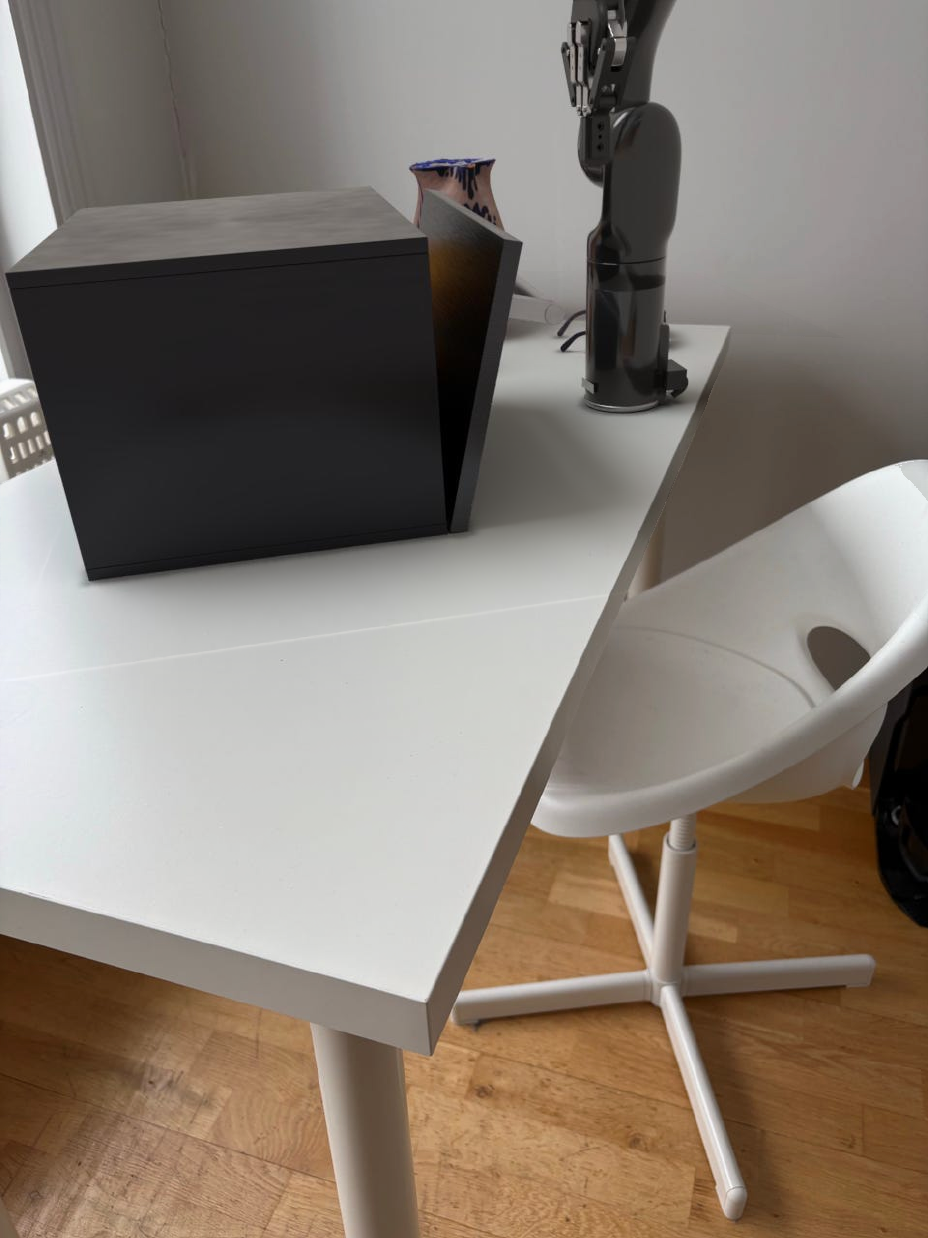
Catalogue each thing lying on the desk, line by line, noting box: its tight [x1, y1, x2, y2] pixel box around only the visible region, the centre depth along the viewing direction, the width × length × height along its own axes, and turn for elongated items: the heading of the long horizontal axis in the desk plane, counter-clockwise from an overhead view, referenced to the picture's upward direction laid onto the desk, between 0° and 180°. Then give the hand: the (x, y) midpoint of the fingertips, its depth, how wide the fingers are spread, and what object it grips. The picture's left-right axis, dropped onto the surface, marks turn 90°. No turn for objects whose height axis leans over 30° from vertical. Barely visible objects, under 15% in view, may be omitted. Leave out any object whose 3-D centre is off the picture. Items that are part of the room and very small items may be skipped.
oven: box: [4, 185, 448, 582], centre depth 99 cm, size 32×40×26 cm
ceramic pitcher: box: [408, 157, 506, 232], centre depth 152 cm, size 18×21×25 cm
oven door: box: [419, 188, 565, 533], centre depth 102 cm, size 8×40×26 cm, turn 11°
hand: (594, 164), depth 85 cm, fingers closed
